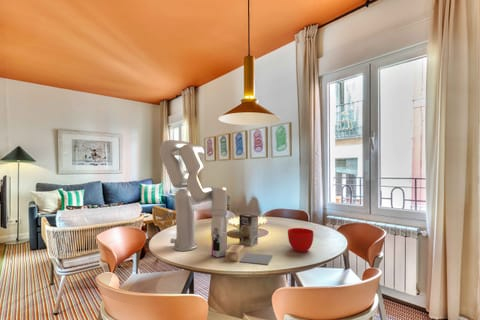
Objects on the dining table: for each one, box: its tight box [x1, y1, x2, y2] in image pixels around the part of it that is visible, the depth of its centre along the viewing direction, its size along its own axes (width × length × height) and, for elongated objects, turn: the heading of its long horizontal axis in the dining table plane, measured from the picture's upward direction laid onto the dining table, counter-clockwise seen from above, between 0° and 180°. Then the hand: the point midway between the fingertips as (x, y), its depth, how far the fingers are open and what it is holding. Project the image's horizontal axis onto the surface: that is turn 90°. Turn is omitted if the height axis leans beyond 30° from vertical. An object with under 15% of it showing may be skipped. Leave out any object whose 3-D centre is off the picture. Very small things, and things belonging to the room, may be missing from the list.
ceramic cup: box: [287, 227, 314, 253], centre depth 135 cm, size 13×17×10 cm
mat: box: [239, 252, 273, 266], centre depth 121 cm, size 13×12×1 cm
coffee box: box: [238, 213, 259, 247], centre depth 146 cm, size 9×6×16 cm
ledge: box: [224, 244, 245, 262], centre depth 124 cm, size 6×11×4 cm, turn 164°
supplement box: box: [211, 231, 228, 259], centre depth 126 cm, size 6×6×12 cm
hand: (220, 247), depth 126 cm, fingers open, 9 cm apart
